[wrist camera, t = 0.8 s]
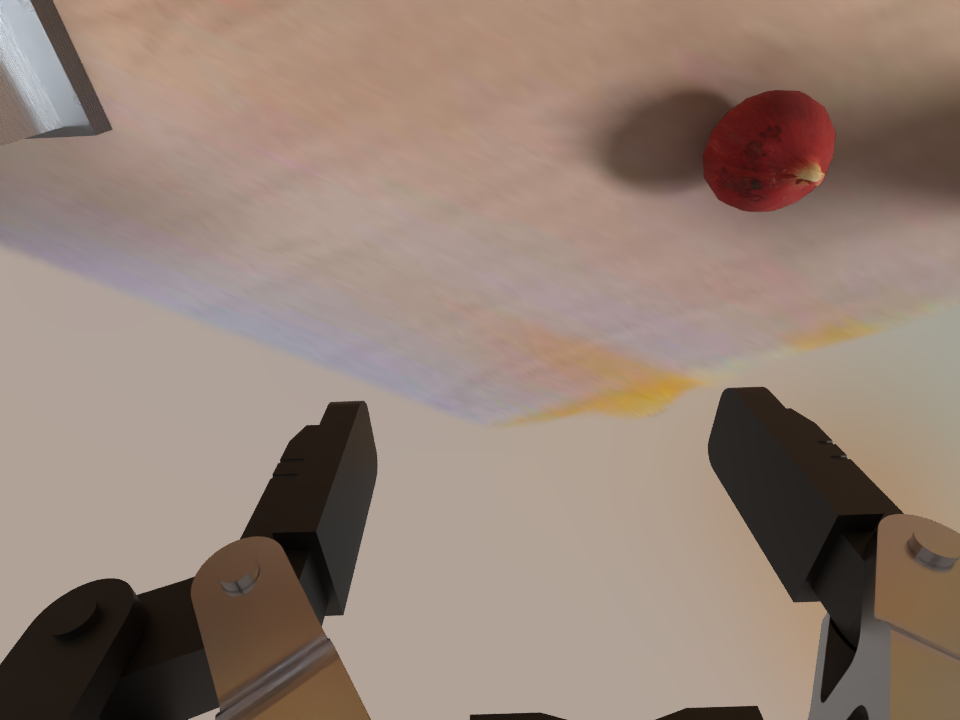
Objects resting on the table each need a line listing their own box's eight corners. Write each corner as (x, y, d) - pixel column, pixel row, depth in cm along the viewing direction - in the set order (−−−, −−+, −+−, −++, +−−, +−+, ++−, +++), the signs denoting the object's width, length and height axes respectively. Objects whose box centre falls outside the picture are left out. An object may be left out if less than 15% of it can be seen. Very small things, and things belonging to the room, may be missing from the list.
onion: (688, 201, 30) (746, 254, 24) (678, 105, 27) (742, 138, 20) (786, 167, 29) (874, 214, 23) (787, 63, 26) (892, 83, 19)
